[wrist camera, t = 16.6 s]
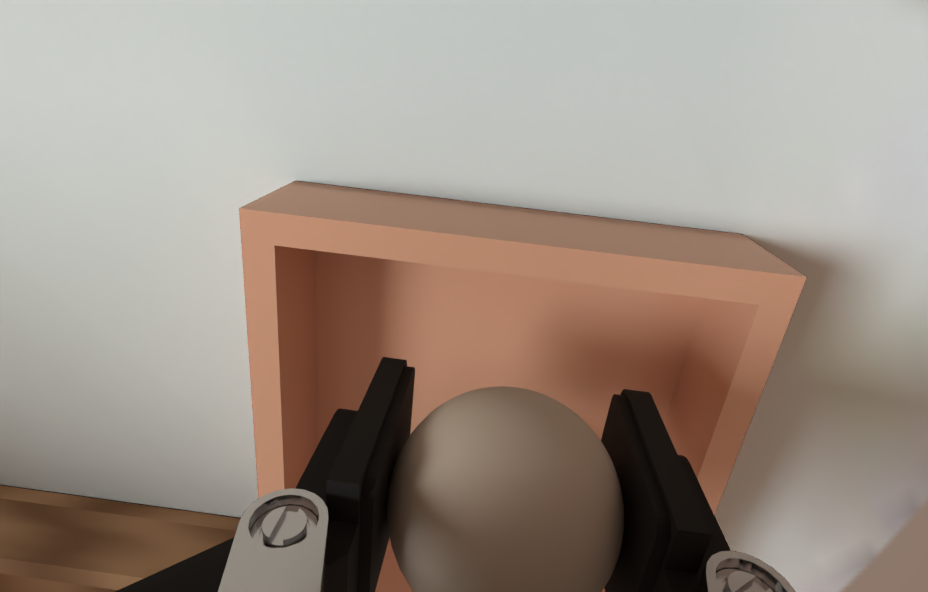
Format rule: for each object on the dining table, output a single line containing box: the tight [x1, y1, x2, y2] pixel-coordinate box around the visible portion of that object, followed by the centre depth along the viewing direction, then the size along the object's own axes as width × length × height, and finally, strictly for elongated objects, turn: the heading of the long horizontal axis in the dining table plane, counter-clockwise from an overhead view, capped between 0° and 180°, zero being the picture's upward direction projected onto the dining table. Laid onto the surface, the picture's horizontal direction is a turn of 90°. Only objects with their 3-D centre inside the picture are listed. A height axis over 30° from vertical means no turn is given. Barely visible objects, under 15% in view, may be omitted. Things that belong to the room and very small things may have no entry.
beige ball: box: [387, 386, 624, 592], centre depth 10 cm, size 4×4×4 cm
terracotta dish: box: [239, 181, 807, 592], centre depth 16 cm, size 13×13×4 cm
